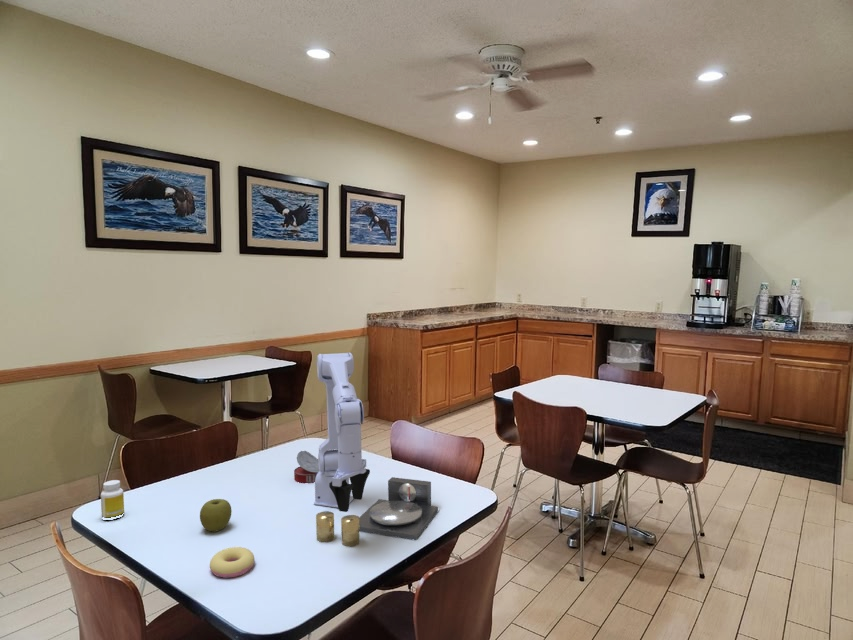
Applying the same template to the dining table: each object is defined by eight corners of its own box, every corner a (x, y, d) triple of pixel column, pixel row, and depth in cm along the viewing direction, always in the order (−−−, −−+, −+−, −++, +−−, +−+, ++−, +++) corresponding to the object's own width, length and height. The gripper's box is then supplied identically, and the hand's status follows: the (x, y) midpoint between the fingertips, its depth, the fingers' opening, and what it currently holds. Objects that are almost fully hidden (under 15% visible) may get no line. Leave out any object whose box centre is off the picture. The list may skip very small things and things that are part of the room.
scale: (350, 530, 141) (350, 503, 140) (382, 499, 161) (382, 476, 160) (416, 540, 135) (415, 512, 134) (441, 506, 155) (441, 482, 154)
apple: (237, 523, 145) (236, 497, 145) (220, 537, 137) (219, 509, 137) (212, 520, 147) (211, 495, 146) (193, 534, 139) (192, 507, 139)
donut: (245, 563, 129) (204, 570, 123) (246, 543, 130) (205, 548, 124) (259, 575, 121) (216, 582, 115) (261, 553, 122) (217, 559, 116)
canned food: (313, 486, 184) (324, 457, 187) (324, 492, 176) (335, 462, 178) (283, 476, 179) (295, 447, 182) (292, 482, 170) (305, 451, 173)
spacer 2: (338, 545, 133) (338, 521, 132) (346, 537, 137) (346, 513, 136) (354, 547, 131) (354, 523, 131) (362, 539, 135) (362, 516, 135)
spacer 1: (313, 541, 135) (312, 517, 135) (322, 533, 139) (321, 510, 139) (329, 543, 134) (328, 519, 133) (337, 535, 138) (337, 512, 137)
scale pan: (361, 521, 142) (360, 518, 142) (382, 500, 155) (382, 497, 155) (411, 528, 137) (411, 525, 137) (428, 506, 151) (428, 504, 151)
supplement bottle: (128, 515, 151) (127, 480, 150) (110, 523, 146) (108, 487, 145) (115, 511, 153) (114, 477, 153) (97, 519, 148) (95, 484, 148)
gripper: (351, 461, 125) (352, 519, 125) (376, 443, 138) (377, 495, 139) (323, 458, 127) (325, 515, 128) (351, 441, 140) (352, 492, 141)
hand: (350, 504), depth 134 cm, fingers open, 7 cm apart
